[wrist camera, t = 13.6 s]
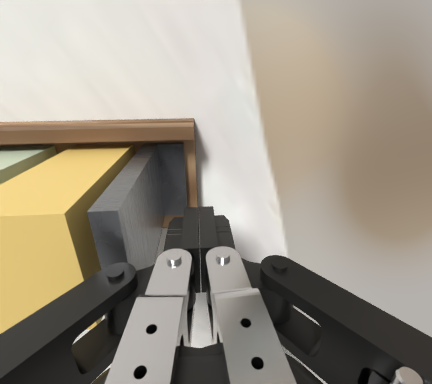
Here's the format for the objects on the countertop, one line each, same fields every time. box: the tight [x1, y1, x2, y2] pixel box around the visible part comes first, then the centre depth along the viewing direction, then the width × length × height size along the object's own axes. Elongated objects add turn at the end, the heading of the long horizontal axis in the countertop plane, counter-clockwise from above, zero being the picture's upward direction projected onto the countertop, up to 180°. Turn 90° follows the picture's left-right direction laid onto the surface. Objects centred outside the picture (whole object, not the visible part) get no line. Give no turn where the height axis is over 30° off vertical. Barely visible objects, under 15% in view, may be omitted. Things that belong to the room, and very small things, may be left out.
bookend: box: [87, 142, 188, 270], centre depth 14 cm, size 6×3×10 cm, turn 1°
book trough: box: [0, 118, 198, 228], centre depth 13 cm, size 8×19×13 cm, turn 91°
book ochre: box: [0, 144, 135, 334], centre depth 14 cm, size 6×4×10 cm
